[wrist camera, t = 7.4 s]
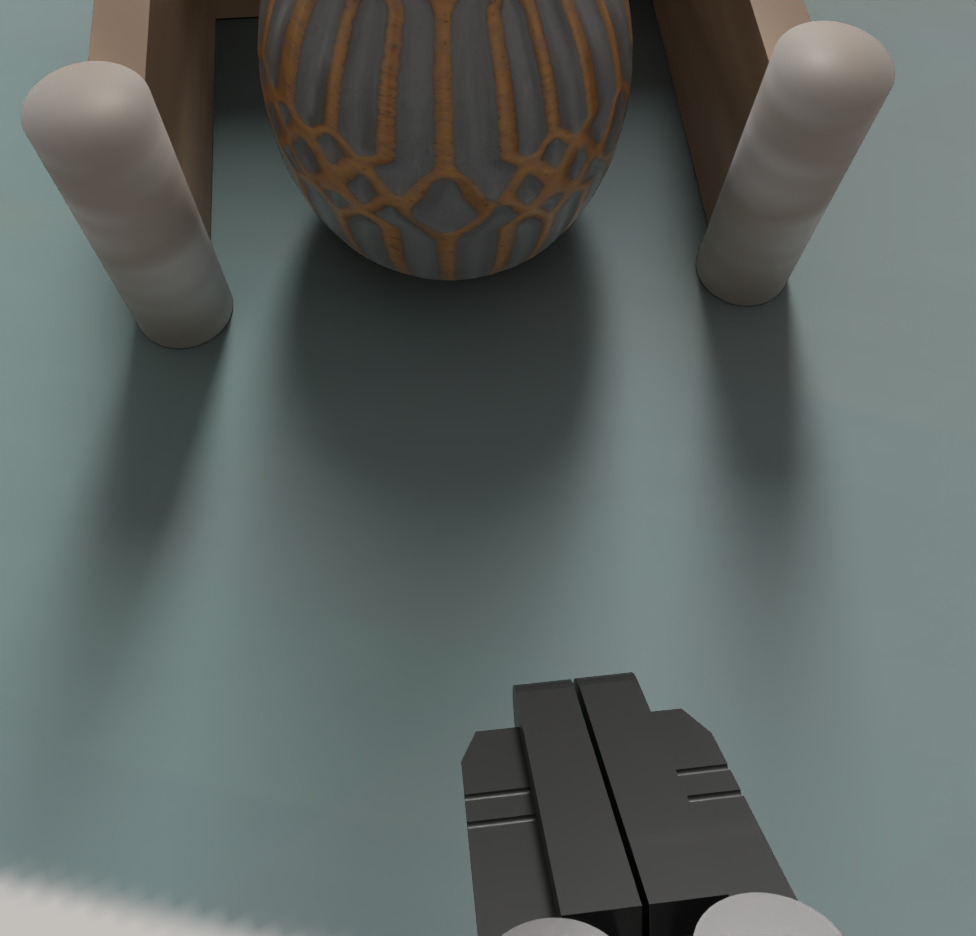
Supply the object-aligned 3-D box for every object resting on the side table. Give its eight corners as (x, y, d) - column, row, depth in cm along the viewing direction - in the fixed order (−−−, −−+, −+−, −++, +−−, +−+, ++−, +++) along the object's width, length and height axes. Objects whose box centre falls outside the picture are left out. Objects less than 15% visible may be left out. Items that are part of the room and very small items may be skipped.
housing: (133, 352, 19) (14, 161, 14) (155, -7, 23) (69, -253, 18) (797, 302, 20) (910, 106, 15) (700, -35, 24) (763, -276, 19)
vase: (666, 224, 21) (794, -192, 13) (420, 391, 19) (387, 27, 11) (474, 46, 23) (479, -407, 15) (235, 181, 21) (93, -256, 13)
